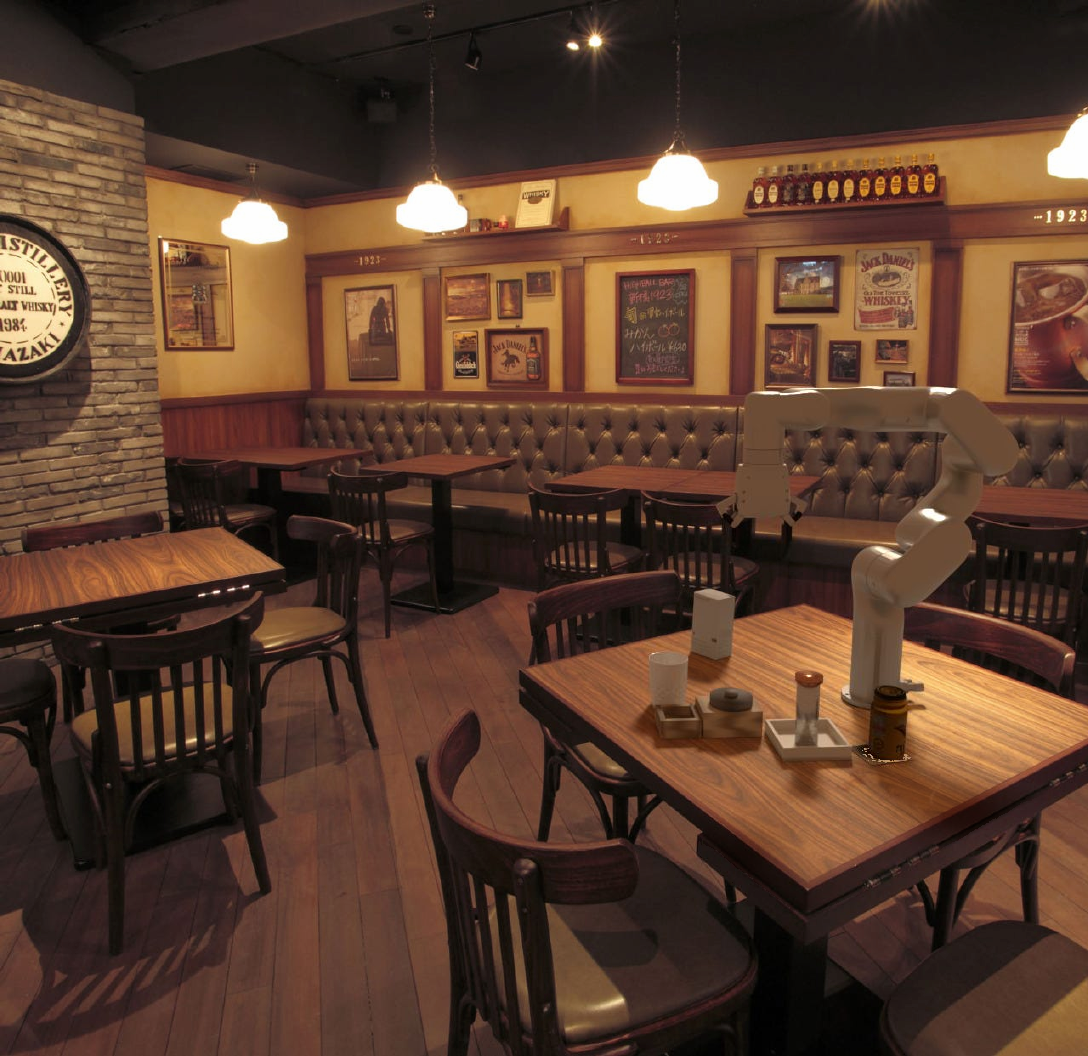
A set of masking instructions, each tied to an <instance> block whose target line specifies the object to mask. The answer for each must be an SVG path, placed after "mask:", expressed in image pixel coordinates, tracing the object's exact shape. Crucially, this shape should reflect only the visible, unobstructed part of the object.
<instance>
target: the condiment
mask: <svg viewBox="0 0 1088 1056" xmlns="http://www.w3.org/2000/svg"><path fill="white" fill-rule="evenodd" d="M906 696H907V694H906V692H905V691H904V690H903V689H901V688H899V687H896V686H889V685H886V686H885V685H882V686H878V687H876V688H875V690H874V697H873V699H874V700H873V701H872V703H871V710H870V709H869V710H870V711H869V713H870V715H869V731H868V743H864V744H859V745H851V746H852V752H854V753H855V754H856V755H857V756H859V757H860V758H861V759H862V760H864V761H865V762H866V763H868V764H869V765H871V766H876V765H880V766H881V765H882V764H883V765H885V764H886V765H887V764H892V763H891V762H887V763H885V762H883V761H881V762H878V761H877V760H878V759H880V760H890V761H892V760H893V761H894V760H905V758H904V759H903V757H905V756H904V754H907V753H906V752H905V751H906V740H907V736H906V735H907V728H908V727H907V723H908V722H907V721H908V712H909V711H908V710H909V707H908V706H907V703H906ZM864 748H869V749H867V750H864ZM862 750H863V751H862ZM865 751H867V752H865ZM858 754H859V755H858ZM863 754H866V755H867V757H866V756H865V755H863ZM868 754H871V755H872V756H873V758H875V759H872V758H871V756H870V755H868ZM908 755H909V756H907V757H911V758H910V759H908V758H907V760H912V761H915V760H916V758H914V757H912V756H911V755H910V754H908ZM876 759H877V760H876ZM868 760H869V761H868ZM872 760H876V761H872Z"/></svg>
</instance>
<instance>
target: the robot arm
mask: <svg viewBox="0 0 1088 1056" xmlns="http://www.w3.org/2000/svg"><path fill="white" fill-rule="evenodd" d="M823 427H833V428H843V429H849V430H855V431H860V432H872V433H873V432H874V433H875V432H876V433H879V432H880V433H881V432H884V433H885V432H886V433H887V432H888V433H890V432H893V433H894V432H934V433H941V434H947V435H946V436H945V437H944V439H943V441H942V444H941V461H942V462H941V463H942V469H941V474H940V478H939V480H938V481H937V483H936V484H935V486H934V487H933V488H932V489H931V490H930V491H929V492H928V493H927V495H925V496H924V497H923V498H922V499H921V500H920V501H919V502H918V503H917V504H916V505H915V506H914V507H913V508H912V509H911V510H909V511H908V513H907V514H906V515H905V516H904V517H903V518H902V519H900V521H899V523H898V524H897V526H896V528H895V531H894V539H895V541H896V543H897V545H898V546H899V547H900V548H901V549H902V550H904V551H905V552H904V553H902V552H899V551H897V550H894V549H892V548H890V547H887V546H882V545H872V546H868V547H866V548H864V549H862V550H861V551H860V552H858V554H857V555H856V556H855V557H854V559H853V561H852V564H851V565H852V566H851V572H850V574H851V575H850V577H851V587H852V596H853V599H852V600H853V611H852V612H853V618H852V632H851V633H852V634H851V635H852V636H851V647H850V648H851V651H850V652H851V653H850V667H849V669H850V670H849V671H850V672H849V683H848V684H846V685H843V687H842V688H841V689H840V697H841V698H842V699H843V701H845V702H846V703H848V704H849V705H853V706H854V707H858V708H861V709H866V710H871V703H872V701H873V700H874V699H873V697H874V690H875V688H876V687H878V686H882V685H885V686H886V685H889V686H896V687H899V688H901V689H903V690H904V691H905V692H906V704H907V703H908V695H907V694H909V692H910V693H911V692H914V693H918V692H919V693H922V692H923V693H924V691H925V684H924V683H923V682H922V681H915V682H913V680H912V679H911V678H909V679H907V678H905V679H902V678H901V672H902V657H903V656H902V654H903V639H904V628H905V610H904V609H905V608H911V607H914V606H917V605H918V604H920V603H921V602H923V601H925V599H927V598H928V597H930V595H931V594H932V593H933V592H935V590H937V589H938V588H939V587H940V586H941V585H942V584H943V583H944V582H945V581H946V580H947V579H948V578H949V577H950V576H951V575H953V573H954V572H955V571H956V570H957V569H958V568H959V567H960V566H961V565H962V564H963V563H964V562H965V560H966V559H967V557H968V556H969V554H970V551H971V549H972V545H973V544H972V543H973V537H972V536H973V535H972V532H971V530H970V528H969V526H968V525H967V524H966V523H965V521H966V520H967V519H968V518H969V517H971V515H972V514H973V513H974V512H975V510H976V509H977V507H978V506H979V505H980V504H979V503H980V502H981V499H982V497H983V496H982V495H983V488H984V487H983V486H984V476H987V477H1000V476H1003V475H1005V474H1008V473H1009V472H1011V471H1012V470H1013V469H1014V468H1015V466H1016V465H1017V463H1018V461H1019V457H1020V447H1019V444H1018V440H1017V439H1016V438H1015V436H1014V435H1013V433H1012V432H1011V431H1010V430H1009V429H1008V428H1007V427H1006V426H1005V425H1004V424H1003V423H1002V422H1001V420H1000V419H998V417H997V416H996V415H995V414H994V413H993V412H992V411H991V410H990V409H989V408H988V407H987V405H985V404H984V403H983V401H981V400H980V398H978V397H977V396H976V395H975V394H973V393H972V392H970V391H969V390H967V389H964V388H960V387H959V388H956V387H942V386H859V387H846V388H845V387H842V388H841V387H839V388H835V387H834V388H832V387H831V388H830V387H828V388H827V387H826V388H825V387H824V388H820V387H819V388H818V387H814V388H812V387H810V388H809V387H807V388H806V387H805V388H804V387H802V388H801V387H799V388H798V387H793V388H792V387H791V388H787V389H784V390H782V391H769V390H768V391H765V390H764V391H763V390H762V391H752V392H749V393H748V394H746V395H745V398H744V407H743V442H742V443H743V444H742V445H743V448H742V463H739V464H737V469H736V474H735V479H734V487H733V494H731V496H729V497H727V498H725V499H723V500H721V501H719V502H717V503H716V504H715V507H716V509H717V511H718V513H719V515H720V517H721V518H722V519H723V520H724V522H726V523H727V524H728V526H729V543H730V544H731V546H732V547H734V548H735V549H739V548H740V544H741V542H740V541H741V528H740V527H739V525H740V523H742V521H743V520H744V519H745V518H749V519H752V518H760V519H761V518H781V520H782V521H783V523H782V524H781V527H780V528H781V532H780V533H781V534H780V535H781V536H780V543H781V545H783V546H784V547H788V548H790V546H791V545H790V544H791V542H792V541H793V527H794V526H795V525H796V523H797V522H798V521H799V520H800V519H801V518H802V517H803V514H804V512H805V511H806V509H807V507H808V502H807V501H805V500H803V499H801V498H799V497H797V496H795V495H793V494H791V489H790V487H791V486H790V475H789V469H788V466H787V464H786V463H785V462H786V460H787V459H791V458H792V456H793V455H792V451H791V450H786V448H785V439H786V438H785V437H786V436H785V435H786V430H796V431H797V430H798V431H805V432H809V431H817V430H819V429H821V428H823ZM791 503H793V504H794V505H796V508H795V510H794V511H793V512H792V513H790V511H791V510H790V509H791ZM730 506H732V509H733V512H734V513H733V514H732V515H731V516H730V514H729V513H728V511H727V508H728V507H730Z"/></svg>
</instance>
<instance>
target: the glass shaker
mask: <svg viewBox="0 0 1088 1056" xmlns="http://www.w3.org/2000/svg"><path fill="white" fill-rule="evenodd" d="M794 681H795V682H796V698H795V718H794V719H795V744H796V745H797V746H817V745H818V726H819V718H820V703H821V702H820V701H821V700H820V699H821V685H822V684H823V683H824V675H823V674H822V673H821V672H819V671H816V670H815V671H814V670H809V669H806V670H805V669H804V670H798V671H795V673H794Z"/></svg>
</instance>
